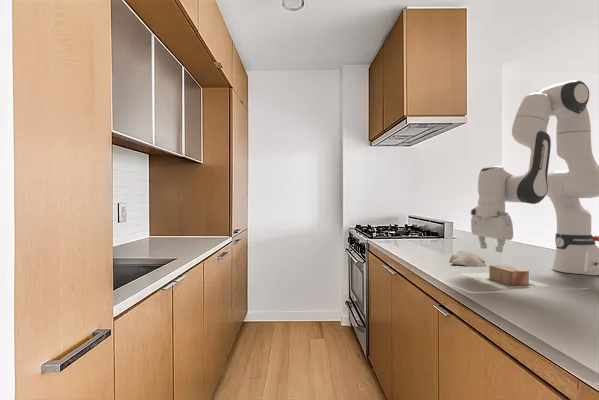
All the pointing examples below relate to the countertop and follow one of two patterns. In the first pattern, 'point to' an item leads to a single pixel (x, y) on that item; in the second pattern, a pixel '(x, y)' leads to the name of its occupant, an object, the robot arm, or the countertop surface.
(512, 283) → the walnut block
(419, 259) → the countertop surface
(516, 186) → the robot arm
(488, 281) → the sage mat
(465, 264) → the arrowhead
